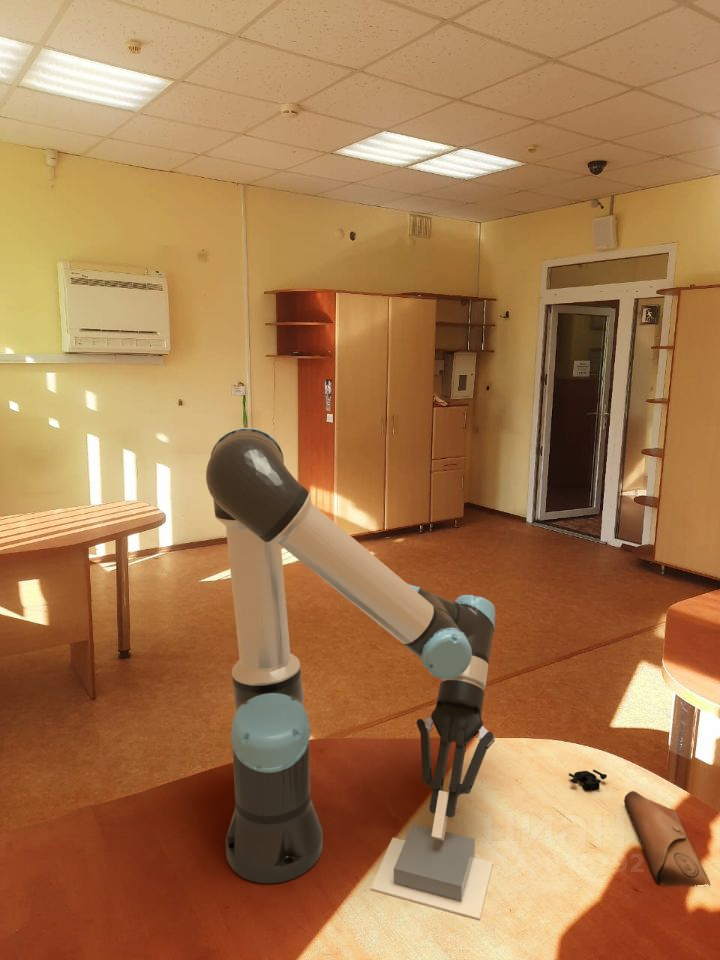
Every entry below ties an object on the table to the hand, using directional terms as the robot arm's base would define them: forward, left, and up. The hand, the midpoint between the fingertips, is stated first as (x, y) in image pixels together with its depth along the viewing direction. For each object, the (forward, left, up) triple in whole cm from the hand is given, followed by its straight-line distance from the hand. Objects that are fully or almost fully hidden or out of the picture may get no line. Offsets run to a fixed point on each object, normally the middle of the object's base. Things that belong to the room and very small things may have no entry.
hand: (437, 838), depth 104 cm
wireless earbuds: (+21, +28, -5) cm, 35 cm away
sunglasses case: (+33, +16, -5) cm, 37 cm away
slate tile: (0, +4, -3) cm, 5 cm away
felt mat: (0, -3, -5) cm, 5 cm away
